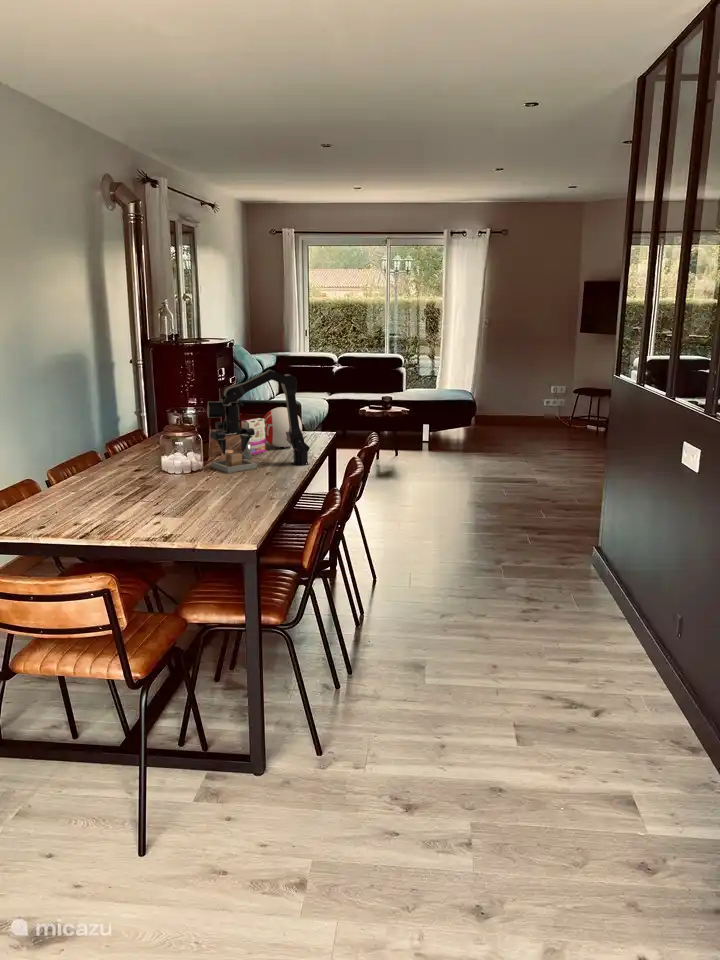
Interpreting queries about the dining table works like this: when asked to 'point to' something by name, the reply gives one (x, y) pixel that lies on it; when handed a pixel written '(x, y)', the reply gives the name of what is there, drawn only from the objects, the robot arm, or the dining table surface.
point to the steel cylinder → (247, 452)
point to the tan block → (225, 454)
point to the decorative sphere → (278, 427)
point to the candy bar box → (256, 434)
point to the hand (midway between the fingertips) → (233, 453)
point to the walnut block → (233, 459)
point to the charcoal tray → (245, 466)
